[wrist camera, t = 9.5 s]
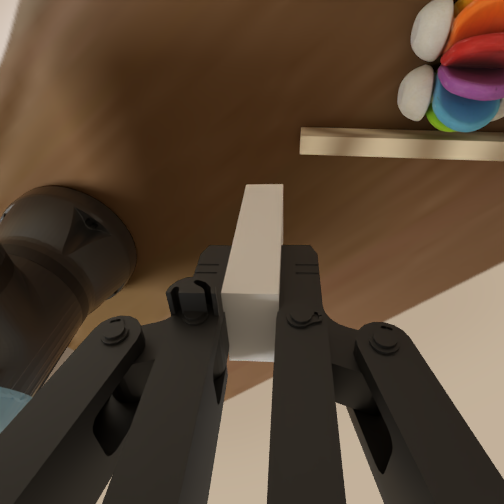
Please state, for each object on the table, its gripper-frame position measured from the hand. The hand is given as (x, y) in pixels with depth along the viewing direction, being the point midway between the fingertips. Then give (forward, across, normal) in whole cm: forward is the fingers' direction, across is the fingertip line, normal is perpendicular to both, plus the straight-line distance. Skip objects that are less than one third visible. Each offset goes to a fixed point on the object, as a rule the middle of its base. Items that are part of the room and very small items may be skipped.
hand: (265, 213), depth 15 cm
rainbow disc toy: (+20, +14, +2) cm, 25 cm away
